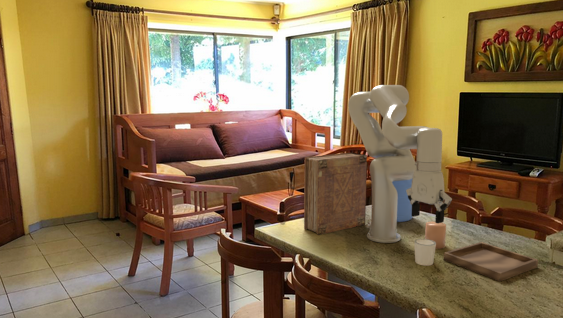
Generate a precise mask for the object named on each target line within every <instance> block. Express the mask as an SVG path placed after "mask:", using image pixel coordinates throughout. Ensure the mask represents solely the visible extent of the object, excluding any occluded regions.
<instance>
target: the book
mask: <svg viewBox="0 0 563 318" xmlns="http://www.w3.org/2000/svg"><path fill="white" fill-rule="evenodd" d="M367 161H368V154H363V153H357V152H343V153H333V154H332V153H331V154H326V155H325V154H324V155H315V156H314V155H312V156H305V157H304V172H303V173H304V177H303V178H304V179H303V180H304V181H303V182H304V184H303V186H304V188H303V189H304V192H303V193H304V196H303V198H304V201H303V202H304V203H303V208H304V211H303V212H304V213H303V214H304V215H303V229H304V230H309V231H312V232H314V233H316V234H317V235H318V236H320V235H325V234H330V233H334V232H339V231H342V230H343V231H344V230H347V229H348V230H349V229H351V228H355V227H356V226H357V227H360V226H366V211H367V210H366V209H367V208H366V207H367V204H366V202H367V201H366V200H367V173H368V172H367V170H368V169H367V167H368V166H367V165H368V162H367Z"/></svg>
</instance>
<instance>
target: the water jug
mask: <svg viewBox="0 0 563 318" xmlns="http://www.w3.org/2000/svg"><path fill="white" fill-rule="evenodd" d="M392 184H393V185H394V187H395V188H396V190H397V194H398V199H397V223H402V222H408V221H410V220H412V219H413V217H412V204H410V200H409V199H408V195H407V192H406V190H407V189H409V188H411V185H412V179H410V180H402V181H393V182H392Z"/></svg>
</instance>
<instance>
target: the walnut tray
mask: <svg viewBox="0 0 563 318" xmlns="http://www.w3.org/2000/svg"><path fill="white" fill-rule="evenodd" d="M443 261H446V262H449V263H450V264H453V265H456V266H458V267H462V268H464V269H466V270H469V271H472V272H474V273H477V274H479V275H482V276H484V277H487V278H490V279H493V280H495V281H497V282H502V281H505V280H508V279H510V278H513V277H516V276H518V275H521V274H523V273H526V272H528V271H531V270H534V269H536V268H538V265H539V260H538V259H537V258H534V257H531V256H528V255H527V256H526V255H524V254H521V253H518V252H514V251H511V250H508V249H506V248H505V249H504V248H502V247H499V246H495V245H493V244H490V243H486V242H483V241H480V242H476V243H472V244H469V245H465V246H463V247H459V248H456V249H452V250H448V251H445V252H443Z"/></svg>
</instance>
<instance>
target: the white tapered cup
mask: <svg viewBox="0 0 563 318" xmlns="http://www.w3.org/2000/svg"><path fill="white" fill-rule="evenodd" d="M413 245H414V259H415V260H414V261H415V263H416V264H417V265H421V266H425V267H426V266H433V264H434V261H435V260H434V259H435V254H436V253H435V252H436V249H435V247H436V242H435V241H432V240H429V239H425V238H417V239H415V240H414V241H413Z"/></svg>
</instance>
